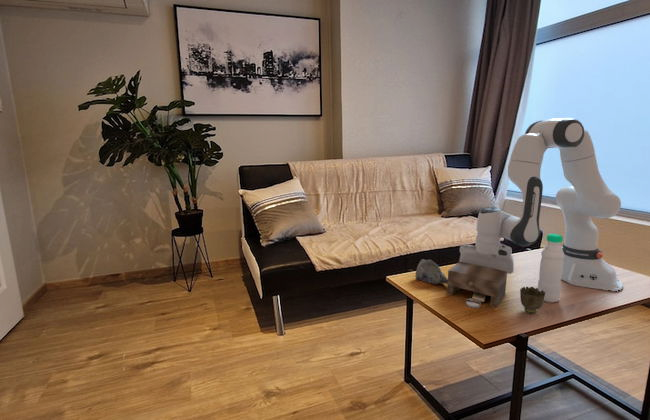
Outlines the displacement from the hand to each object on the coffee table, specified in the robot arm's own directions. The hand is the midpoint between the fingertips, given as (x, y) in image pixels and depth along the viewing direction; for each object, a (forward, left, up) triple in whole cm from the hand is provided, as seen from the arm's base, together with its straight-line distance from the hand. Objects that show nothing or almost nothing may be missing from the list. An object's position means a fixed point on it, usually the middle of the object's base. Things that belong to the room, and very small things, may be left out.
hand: (484, 279), depth 142 cm
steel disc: (-2, +20, -3) cm, 20 cm away
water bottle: (-22, -2, -3) cm, 22 cm away
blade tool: (-1, +7, -2) cm, 7 cm away
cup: (-19, +13, -3) cm, 23 cm away
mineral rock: (+18, +10, -3) cm, 21 cm away
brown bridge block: (0, +11, -3) cm, 12 cm away
